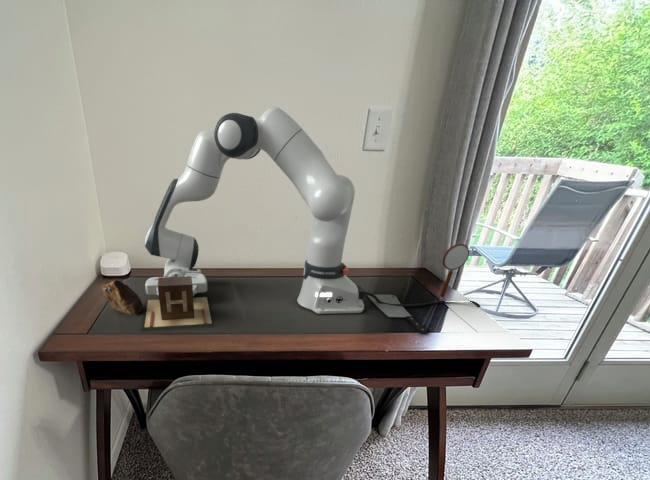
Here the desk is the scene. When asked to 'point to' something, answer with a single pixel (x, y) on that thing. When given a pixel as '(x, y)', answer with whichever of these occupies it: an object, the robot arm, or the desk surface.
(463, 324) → the desk surface
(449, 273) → the magnifying glass
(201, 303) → the game board
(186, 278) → the tall rectangular block
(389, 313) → the cleaver
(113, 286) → the decorative rock
